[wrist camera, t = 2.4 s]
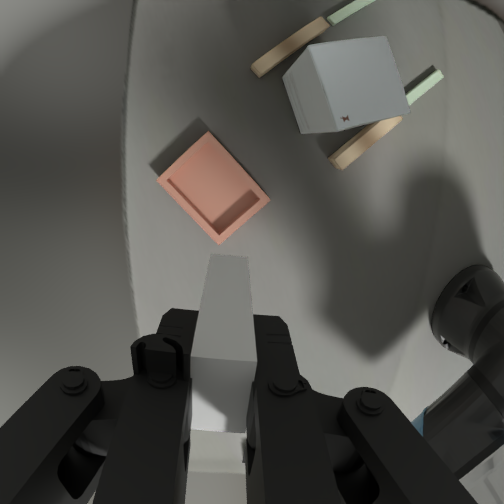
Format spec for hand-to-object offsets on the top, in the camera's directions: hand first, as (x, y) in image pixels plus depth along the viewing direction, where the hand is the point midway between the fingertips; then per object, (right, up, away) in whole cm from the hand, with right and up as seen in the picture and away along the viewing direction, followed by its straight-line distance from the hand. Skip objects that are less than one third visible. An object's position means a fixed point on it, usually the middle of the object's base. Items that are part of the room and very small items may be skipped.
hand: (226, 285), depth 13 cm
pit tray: (-3, +9, +22) cm, 24 cm away
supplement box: (+9, +19, +20) cm, 29 cm away
